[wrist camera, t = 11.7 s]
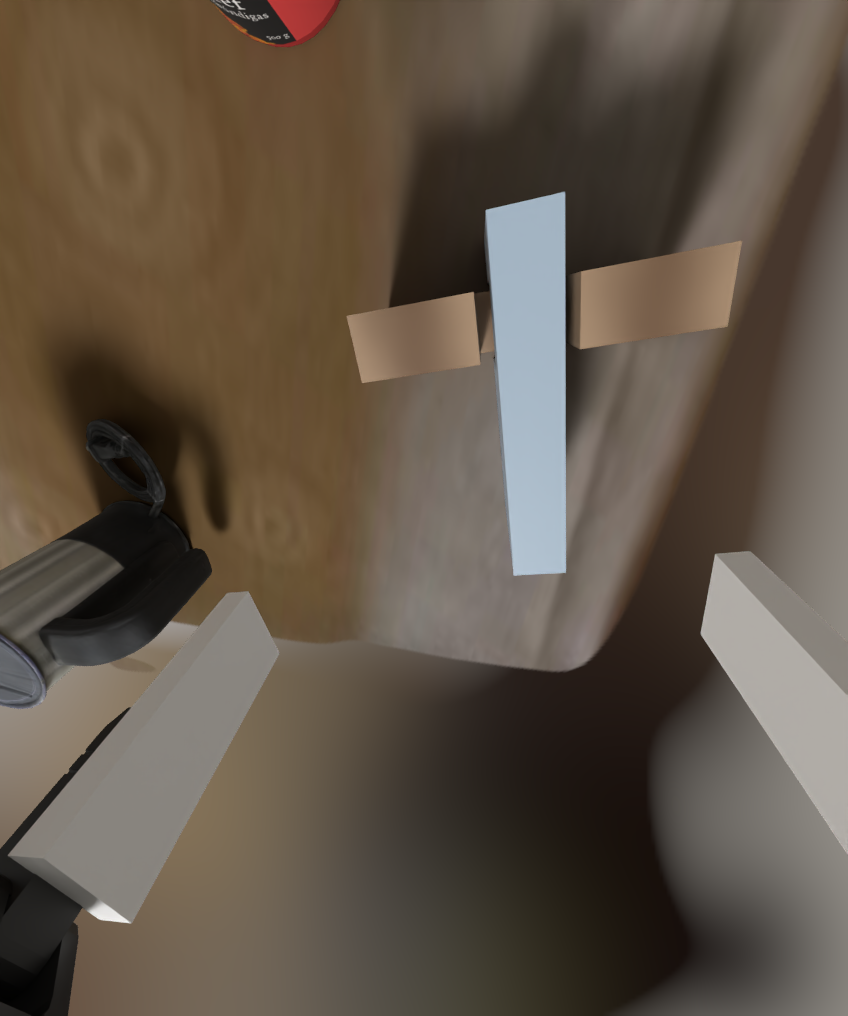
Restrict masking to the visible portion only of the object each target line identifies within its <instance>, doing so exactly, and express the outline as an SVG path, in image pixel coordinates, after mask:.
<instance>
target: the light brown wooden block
mask: <svg viewBox="0 0 848 1016" xmlns="http://www.w3.org/2000/svg"><path fill="white" fill-rule="evenodd" d="M741 244H742V241H738V242H732V243H727V244H722V245H717V246H711V247H706V248H701V249H696V250H690V251H685V252H680V253H675V254H669V255H664V256H659V257H654V258H649V259H643V260H638V261H633V262H628V263H622V264H617V265H612V266H607V267H601V268H596V269H591V270H586V271H581V272H577V273H574V274H571V275H567V276H565V342H566V343H568V344H570V345H572V346H574V347H577V348H579V349H585V348H592V347H598V346H604V345H611V344H617V343H624V342H630V341H637V340H643V339H650V338H656V337H663V336H669V335H675V334H682V333H688V332H695V331H701V330H708V329H714V328H721V327H727V326H728V320H729V315H730V309H731V303H732V297H733V291H734V285H735V279H736V273H737V267H738V261H739V256H740V250H741ZM347 319H348V324H349V328H350V332H351V337H352V341H353V345H354V350H355V354H356V359H357V363H358V367H359V372H360V376H361V380H362V383H366V382H372V381H379V380H385V379H391V378H398V377H404V376H411V375H417V374H424V373H430V372H437V371H443V370H450V369H456V368H462V367H469V366H475V365H480V353H486V352H492V351H495V350H494V338H493V325H492V312H491V299H490V291H486V292H481V293H476V294H475V293H474V292H470V293H465V294H460V295H455V296H449V297H444V298H439V299H434V300H428V301H423V302H418V303H413V304H408V305H402V306H397V307H392V308H387V309H381V310H376V311H371V312H366V313H360V314H355V315H350V316H347Z"/></svg>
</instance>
